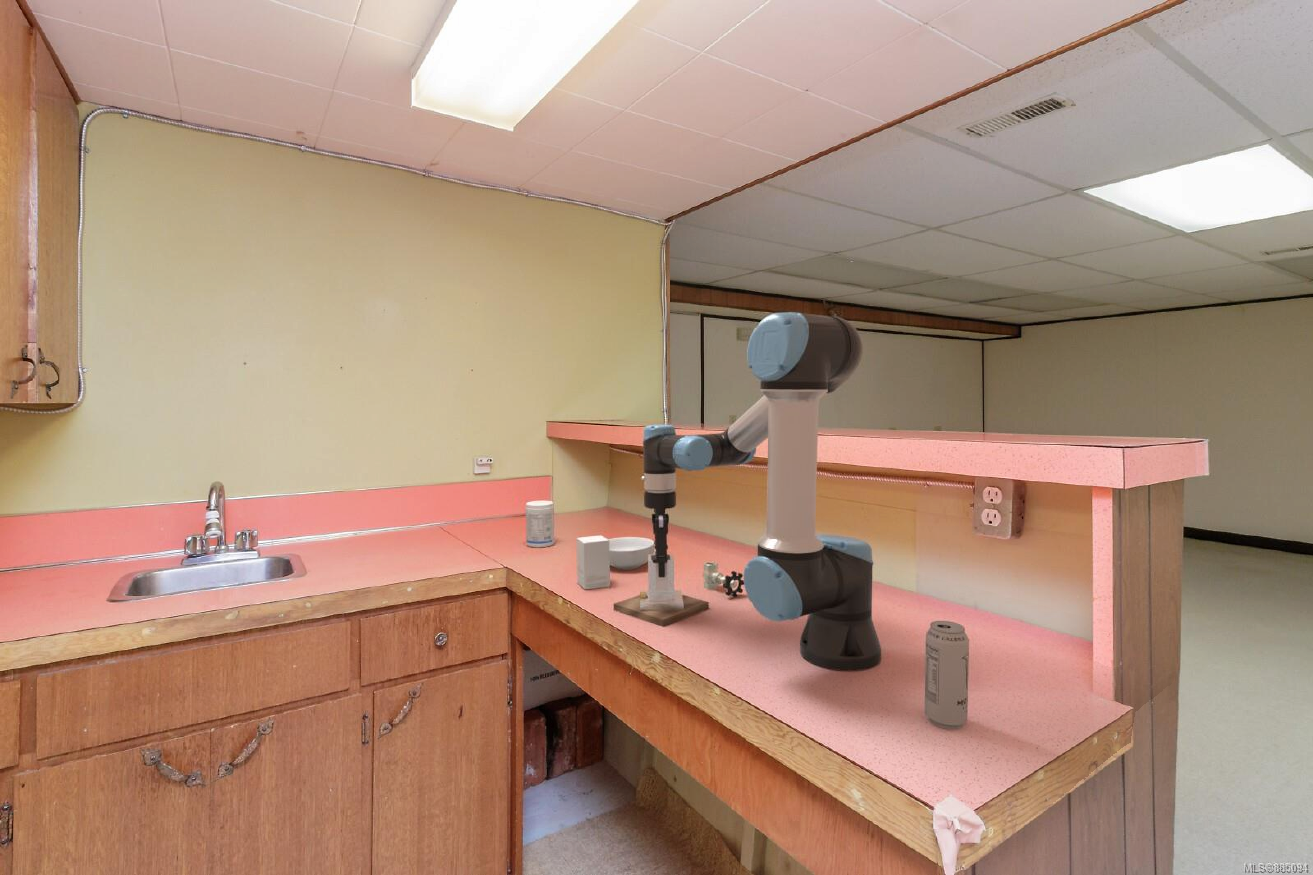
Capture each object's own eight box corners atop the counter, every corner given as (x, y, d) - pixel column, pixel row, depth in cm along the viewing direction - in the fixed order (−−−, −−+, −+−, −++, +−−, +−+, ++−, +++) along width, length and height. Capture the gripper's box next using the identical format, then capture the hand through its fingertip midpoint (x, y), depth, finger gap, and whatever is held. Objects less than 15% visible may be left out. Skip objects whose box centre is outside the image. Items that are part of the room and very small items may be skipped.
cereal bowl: (602, 559, 198) (602, 536, 197) (655, 558, 197) (655, 536, 197) (595, 574, 181) (594, 549, 180) (653, 574, 180) (653, 549, 180)
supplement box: (610, 587, 168) (610, 540, 168) (583, 590, 166) (583, 542, 165) (602, 579, 175) (602, 534, 174) (576, 582, 172) (575, 537, 172)
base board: (708, 608, 151) (708, 577, 150) (662, 626, 139) (662, 592, 139) (660, 594, 162) (659, 565, 161) (613, 609, 150) (613, 578, 150)
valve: (696, 588, 167) (725, 600, 157) (696, 563, 166) (725, 574, 156) (715, 583, 170) (745, 595, 160) (715, 559, 170) (745, 569, 160)
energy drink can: (969, 734, 94) (971, 635, 93) (924, 727, 96) (926, 630, 95) (965, 715, 99) (967, 622, 98) (923, 708, 101) (925, 617, 100)
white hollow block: (680, 595, 155) (680, 551, 155) (683, 609, 145) (683, 562, 145) (640, 596, 155) (639, 552, 154) (640, 610, 145) (639, 563, 144)
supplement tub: (531, 541, 222) (530, 500, 222) (557, 541, 222) (556, 500, 221) (522, 548, 213) (521, 505, 212) (550, 548, 212) (549, 505, 211)
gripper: (643, 483, 160) (645, 570, 161) (644, 498, 137) (645, 598, 138) (673, 483, 160) (674, 569, 161) (678, 497, 137) (679, 598, 139)
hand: (660, 583), depth 150 cm, fingers open, 10 cm apart
